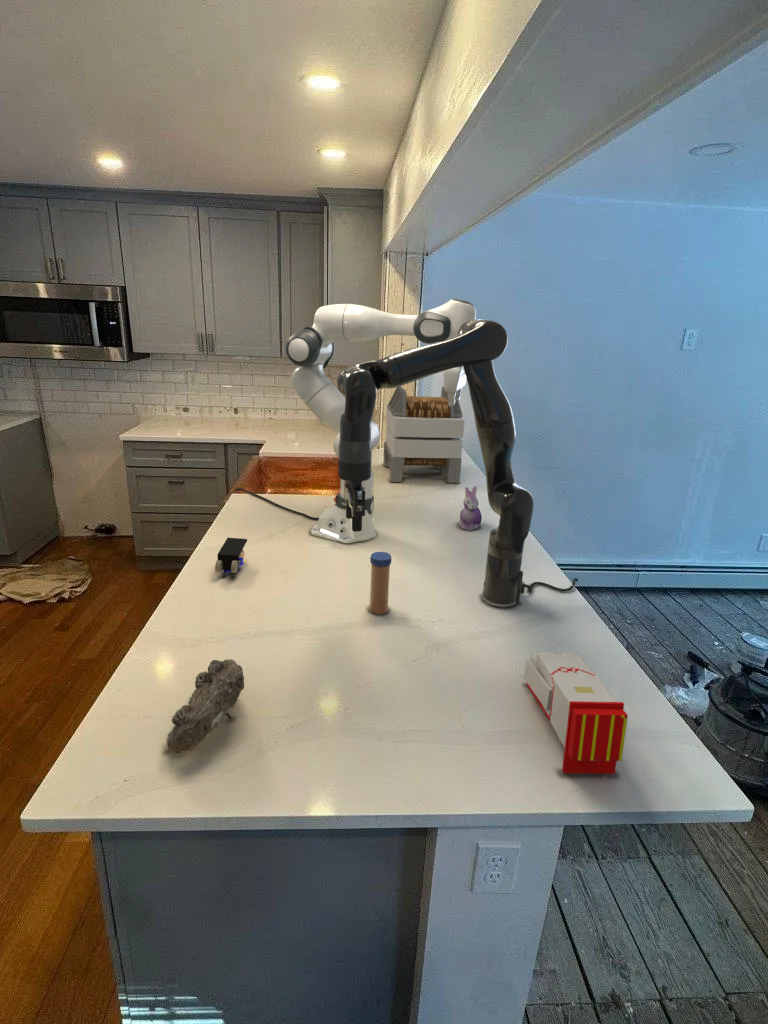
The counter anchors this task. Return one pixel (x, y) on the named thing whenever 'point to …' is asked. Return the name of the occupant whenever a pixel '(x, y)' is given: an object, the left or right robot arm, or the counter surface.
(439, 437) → the transformer
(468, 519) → the figurine
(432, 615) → the counter surface
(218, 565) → the black wheeled block
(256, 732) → the counter surface
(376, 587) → the jar
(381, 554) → the lid
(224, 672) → the fossil
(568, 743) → the toy
